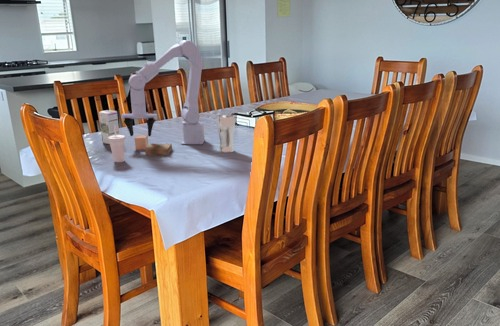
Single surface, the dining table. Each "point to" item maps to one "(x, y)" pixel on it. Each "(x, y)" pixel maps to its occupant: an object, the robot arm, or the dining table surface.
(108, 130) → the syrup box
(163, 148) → the walnut base
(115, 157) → the smoothie
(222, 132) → the beer glass
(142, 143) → the terracotta block
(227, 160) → the dining table surface
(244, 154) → the dining table surface
